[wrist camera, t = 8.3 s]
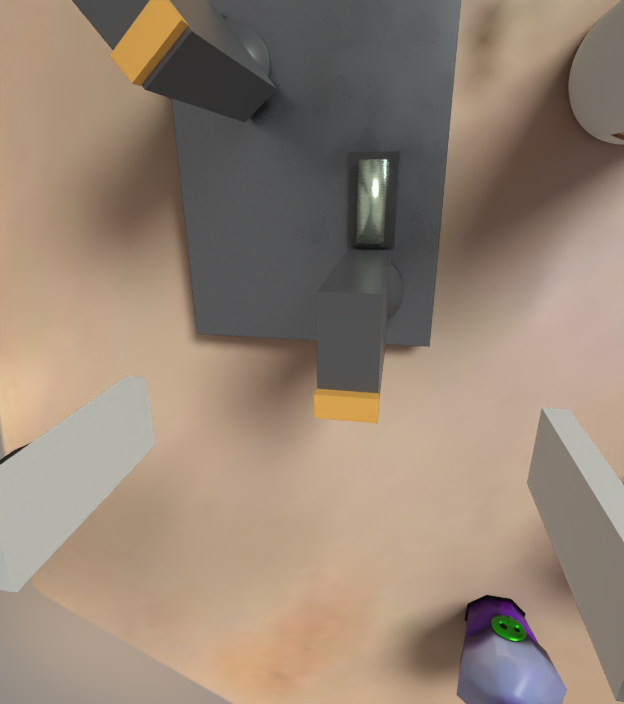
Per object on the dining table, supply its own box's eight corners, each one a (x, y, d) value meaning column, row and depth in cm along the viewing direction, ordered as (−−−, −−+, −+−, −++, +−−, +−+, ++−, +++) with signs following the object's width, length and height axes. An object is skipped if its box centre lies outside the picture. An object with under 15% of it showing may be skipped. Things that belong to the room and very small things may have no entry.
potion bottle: (531, 577, 41) (578, 725, 30) (552, 644, 43) (602, 805, 32) (436, 588, 43) (447, 729, 32) (461, 652, 45) (479, 803, 35)
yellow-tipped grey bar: (177, 57, 29) (4, -33, 16) (228, -6, 27) (77, -162, 14) (239, 135, 30) (120, 106, 17) (292, 79, 28) (202, 2, 15)
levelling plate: (175, 8, 29) (144, -15, 26) (459, -17, 26) (468, -46, 23) (207, 325, 38) (187, 341, 34) (428, 337, 34) (430, 355, 31)
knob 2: (336, 246, 31) (290, 294, 19) (406, 248, 30) (407, 298, 18) (335, 328, 33) (294, 419, 21) (400, 332, 32) (398, 429, 20)
